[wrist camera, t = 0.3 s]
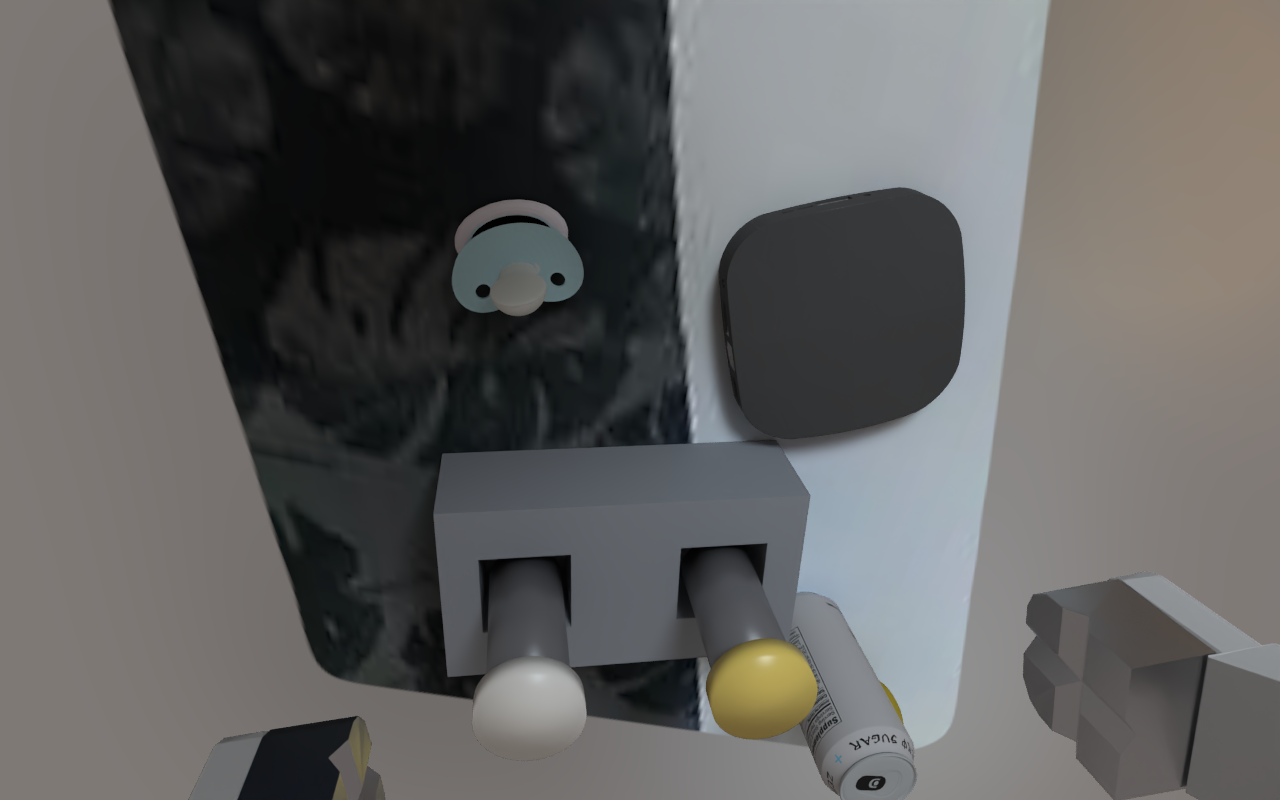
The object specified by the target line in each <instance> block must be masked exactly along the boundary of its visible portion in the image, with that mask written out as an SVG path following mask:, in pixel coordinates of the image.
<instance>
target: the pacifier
mask: <svg viewBox="0 0 1280 800" xmlns="http://www.w3.org/2000/svg"><path fill="white" fill-rule="evenodd" d="M510 215H524V216H530V217H534V218H537V219H539V220H541V221H543V222H545V223H546V224H547V225H548V226H549V227H550V228H549V227H546V226H543V225H539V224H533V223H511V224H505V225H500V226H496V227H494V228H491V229H488V230H486V231H484V232H482V233H480V234H479V235H477V236H476V237H474V238H472V236H473V234H474V233H475V232H476V231H477V230H478V228H480V227H481V226H482V225H484V224H485V223H487V222H489V221H491V220H494V219H496V218H500V217H504V216H510ZM471 238H472V239H471ZM455 248H456V250H457V253H458V256H457V259H456V261H455V265H454V268H453V273H452V287H453V291H454V294H455V296H456V298H457V299H458V301H459V302H460V303H461V304H462V305H463V306H464V307H465V308H467V309H469V310H471V311H474V312H479V313H487V312H493V311H496V310H500V311H502V312H504V313H506V314H508V315H512V316H523V315H527V314H530V313H532V312H534V311H535V310H536V309H538V308H539V307H540V305H541V304H542V303H543V301H550V302H555V301H561V300H565V299H567V298H569V297H571V296H572V295H574V294H575V293H576V292H577V291H578V290H579V288H580V286H581V284H582V281H583V277H584V270H583V265H582V261H581V258H580V256H579V254H578V252H577V251H576V249H575V248H574V246H573V245H572V244H571V242H570V241H569V240H568V228H567V225H566V222H565V220H564V219H563V218H562V216H561V215H560V214H559V213H558V212H557V211H555V210H554V209H552V208H551V207H549V206H547V205H545V204H542V203H539V202H536V201H529V200H521V199H517V200H504V201H499V202H495V203H491V204H488V205H486V206H484V207H482V208H479V209H477V210H476V211H474V212H473V213H472V214H470V215H469V216H467V217H466V218H465V219H464V221H463V222H462V223H461V224H460V226H459V227H458V229H457V232H456V235H455ZM556 272H557V273H561V274H562V275H563V276H564V277H565V282H564V284H562V285H560V286H557V285H554V284H553V283H552V282H551V280H550V277H551V275H552V274H553V273H556ZM481 284H486V285H488V286H489V287H490V294H489V295H488V296H487V297H485V298H480V297H478V296H477V295H476V288H477V287H478V286H479V285H481Z"/></svg>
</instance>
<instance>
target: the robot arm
mask: <svg viewBox="0 0 1280 800" xmlns="http://www.w3.org/2000/svg"><path fill="white" fill-rule="evenodd" d="M1026 624H1027V625H1028V626H1029V627H1030V629H1031V630H1032V631H1033V632H1034V633H1035V634H1036V637H1035V639H1034V640H1033V641H1032V643H1031V644H1030V646H1029V647H1028V648H1027V650H1026V651H1025V653H1024V663H1023V678H1024V681H1025V684H1026V688H1027V691H1028V695H1029V698H1030V700H1031V702H1032V704H1033V706H1034V707H1035V709H1036V711H1037V713H1038V714H1039V716H1040V717H1041V718H1042V719H1043V721H1045V723H1046V724H1047V725H1048V726H1049V728H1050V729H1051V730H1052V731H1054V732H1057V733H1059V734H1061V735H1063V736H1065V737H1067V738H1070V739H1072V740H1074V741H1076V758H1077V759H1078V760H1079V762H1080V763H1081V764H1082V765H1083V766H1084V767H1085V768H1086V769H1087V771H1088V772H1089V773H1090V774H1091V775H1092V776H1093V777H1094V778H1095V780H1096V781H1097V782H1098V783H1099V784H1100V785H1101V786H1102V787H1103V788H1104V790H1105V791H1106V792H1107V793H1108V794H1109V795H1110V796H1111V797H1112V799H1113V800H1125V799H1130V798H1136V797H1142V796H1147V795H1153V794H1158V793H1163V792H1169V791H1175V790H1180V789H1186V793H1188V794H1189V795H1191V796H1193V797H1195V798H1196V799H1198V800H1280V645H1278V644H1275V643H1273V644H1267V645H1261V644H1259V643H1258V642H1256V641H1255V640H1253V639H1252V638H1250V637H1249V636H1248V635H1246V634H1245V633H1243V632H1242V631H1240V630H1239V629H1238V628H1236V627H1234V626H1233V625H1232V624H1230V623H1229V622H1227V621H1226V620H1224V619H1223V618H1222V617H1220V616H1219V615H1217V614H1216V613H1215V612H1213V611H1212V610H1210V609H1209V608H1207V607H1206V606H1205V605H1203V604H1202V603H1200V602H1199V601H1197V600H1196V599H1194V598H1193V597H1192V596H1190V595H1189V594H1187V593H1186V592H1184V591H1183V590H1182V589H1180V588H1179V587H1177V586H1176V585H1174V584H1173V583H1172V582H1170V581H1169V580H1167V579H1166V578H1164V577H1163V576H1161V575H1159V574H1156V573H1152V572H1148V571H1145V572H1140V573H1135V574H1131V575H1126V576H1122V577H1116V578H1112V579H1109V580H1108V581H1103V582H1098V583H1093V584H1087V585H1082V586H1076V587H1071V588H1065V589H1061V590H1055V591H1049V592H1044V593H1039V594H1034V595H1033V596H1032V598H1031V600H1030V602H1029V604H1028V607H1027V618H1026ZM371 745H372V743H371V740H370V737H369V733H368V730H367V727H366V723H365V721H364V720H363V719H362V718H360V717H359V716H355V717H349V718H342V719H336V720H329V721H323V722H317V723H310V724H304V725H298V726H291V727H286V728H279V729H272V730H270V731H262V732H256V733H251V734H245V735H239V736H234V737H227V738H224V739H223V740H221V741H220V742H219V743H217V744H216V745H215V746H214V748H213V749H212V751H211V753H210V756H209V758H208V760H207V762H206V764H205V766H204V768H203V770H202V772H201V774H200V776H199V778H198V780H197V783H196V785H195V787H194V789H193V791H192V793H191V795H190V797H189V799H188V800H385V793H384V789H383V785H382V781H381V777H380V775H379V774H378V773H377V772H375V771H374V770H372V769H371V768H370V767H368V766H367V764H368V759H369V754H370V750H371Z"/></svg>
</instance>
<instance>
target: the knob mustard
mask: <svg viewBox="0 0 1280 800" xmlns="http://www.w3.org/2000/svg"><path fill="white" fill-rule="evenodd" d="M681 572H682V576H683V579H684V583H685V586H686V589H687V592H688V596H689V599H690V602H691V605H692V609H693V612H694V615H695V618H696V622H697V625H698V628H699V631H700V635H701V638H702V641H703V645H704V648H705V651H706V654H707V658H708V661H709V664H710V667H711V670H710V672H709V674H708V677H707V681H706V692H707V696H708V700H709V703H710V707H711V710H712V714H713V717H714V719H715V721H716V723H717V724H718V725H719V727H720V728H721V729H723V730H724V731H725V732H727V733H728V734H730V735H733V736H735V737H739V738H743V739H764V738H769V737H773V736H776V735H779V734H782V733H784V732H786V731H788V730H790V729H792V728H793V727H795V726H796V725H797V724H799V723H800V722H801V721H802V720H803V719H804V718H805V717H806V716H807V715H808V714H809V712H810V711H811V709H812V708H813V706H814V704H815V701H816V698H817V691H818V688H817V682H816V679H815V677H814V675H813V672H812V670H811V668H810V666H809V664H808V662H807V659H806V657H805V655H804V654H803V653H802V651H801V650H800V649H799V648H797V647H796V646H794V645H793V644H791V643H789V642H786V640H785V637H784V635H783V633H782V631H781V628H780V626H779V624H778V622H777V619H776V617H775V615H774V612H773V610H772V608H771V606H770V603H769V601H768V599H767V597H766V594H765V592H764V590H763V587H762V585H761V583H760V581H759V578H758V576H757V574H756V571H755V569H754V567H753V565H752V562H751V560H750V558H749V556H748V553H747V551H746V549H745V548H744V546H743V545H728V546H711V547H694V548H691V549H689V551H688V552H687V553H686V555H685V556H684V559H683V561H682V566H681Z"/></svg>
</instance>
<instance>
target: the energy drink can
mask: <svg viewBox="0 0 1280 800" xmlns="http://www.w3.org/2000/svg"><path fill="white" fill-rule="evenodd" d="M789 643H791V644H793V645H794V646H796V647H797V648H799V649H800V650H801V651H802V653H803V654H804V655H805V657H806V659H807V662H808V664H809V666H810V668H811V670H812V672H813V675H814V677H815V679H816V682H817V688H818V691H817V698H816V701H815V704H814V706H813V708H812V709H811V711H810V712H809V714H808V715H807V716H806V717H805V718H804V719H803V720H802V721H801V722H800V723H799V724H800V726H801V729H802V731H803V733H804V736H805V738H806V741H807V743H808V746H809V748H810V751H811V753H812V756H813V758H814V760H815V763H816V765H817V767H818V770H819V773H820V775H821V778H822V780H823V781H824V783H825V785H827V786H828V787H829V788H830V789H831V790H832V791H833V792H835V793H836V794H838V795H839V796H840V798H841V800H903V799H904V798H905V797H907V795H908V794H909V793H910V792H911V791H912V789H913V787H914V786H915V783H916V780H917V772H916V768H915V766H914V764H913V760H914V745H913V742H912V740H911V738H910V736H909V734H908V732H907V731H906V729H905V727H904V725H903V723H902V722H901V720H900V718H899V716H898V714H897V713H896V711H895V709H894V707H893V705H892V703H891V702H890V700H889V698H888V696H887V694H886V693H885V691H884V689H883V687H882V685H881V684H880V682H879V680H878V678H877V676H876V675H875V673H874V671H873V669H872V667H871V665H870V664H869V662H868V660H867V658H866V656H865V655H864V653H863V651H862V649H861V647H860V646H859V644H858V642H857V640H856V638H855V636H854V635H853V633H852V631H851V629H850V627H849V626H848V624H847V622H846V620H845V618H844V617H843V615H842V613H841V611H840V609H839V607H838V606H837V605H836V604H835V603H834V602H833V601H832V600H830V599H829V598H827V597H824V596H821V595H818V594H815V593H810V592H801V593H796V599H795V606H794V613H793V620H792V627H791V634H790V641H789Z"/></svg>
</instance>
